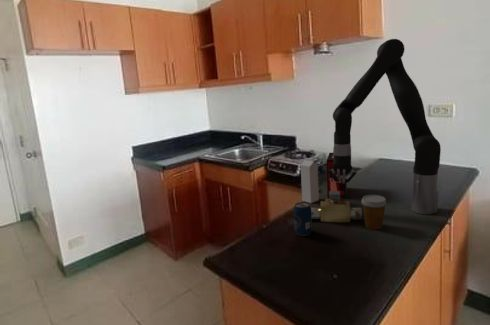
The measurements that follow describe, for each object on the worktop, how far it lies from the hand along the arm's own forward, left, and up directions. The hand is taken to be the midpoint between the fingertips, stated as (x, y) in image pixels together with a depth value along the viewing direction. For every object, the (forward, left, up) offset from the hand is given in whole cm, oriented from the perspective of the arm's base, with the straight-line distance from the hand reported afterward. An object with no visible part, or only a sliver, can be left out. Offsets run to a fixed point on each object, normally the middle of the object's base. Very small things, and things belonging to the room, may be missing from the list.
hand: (342, 190), depth 152 cm
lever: (+4, +3, -1) cm, 5 cm away
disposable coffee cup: (-11, +17, -10) cm, 22 cm away
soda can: (+17, +24, -10) cm, 31 cm away
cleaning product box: (+1, -25, -10) cm, 27 cm away
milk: (+15, -13, -10) cm, 22 cm away
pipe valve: (+5, +10, -10) cm, 15 cm away
